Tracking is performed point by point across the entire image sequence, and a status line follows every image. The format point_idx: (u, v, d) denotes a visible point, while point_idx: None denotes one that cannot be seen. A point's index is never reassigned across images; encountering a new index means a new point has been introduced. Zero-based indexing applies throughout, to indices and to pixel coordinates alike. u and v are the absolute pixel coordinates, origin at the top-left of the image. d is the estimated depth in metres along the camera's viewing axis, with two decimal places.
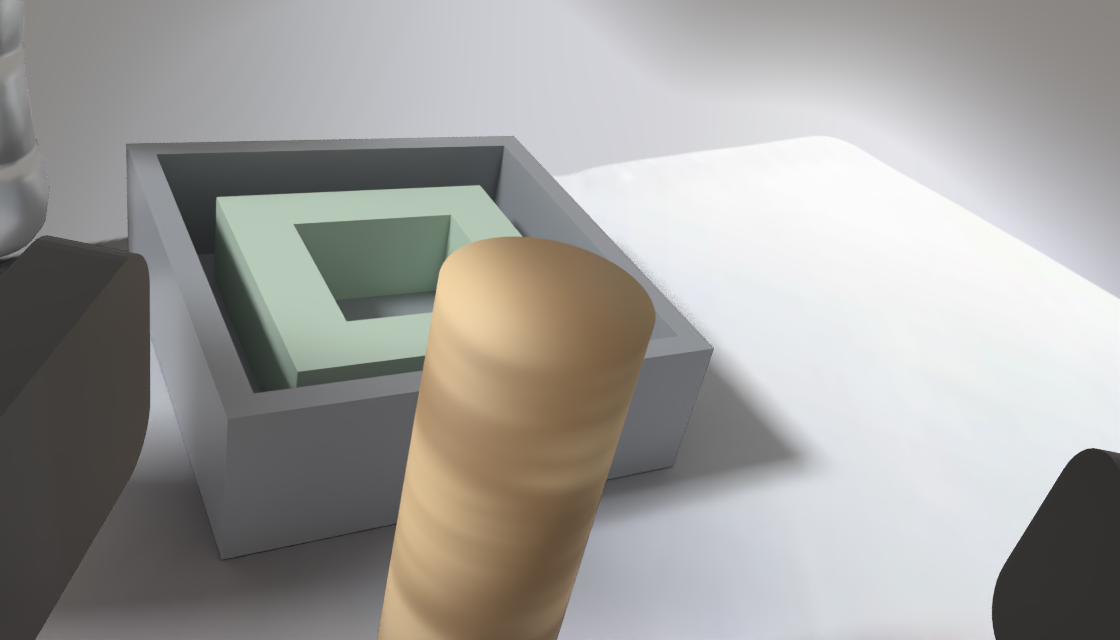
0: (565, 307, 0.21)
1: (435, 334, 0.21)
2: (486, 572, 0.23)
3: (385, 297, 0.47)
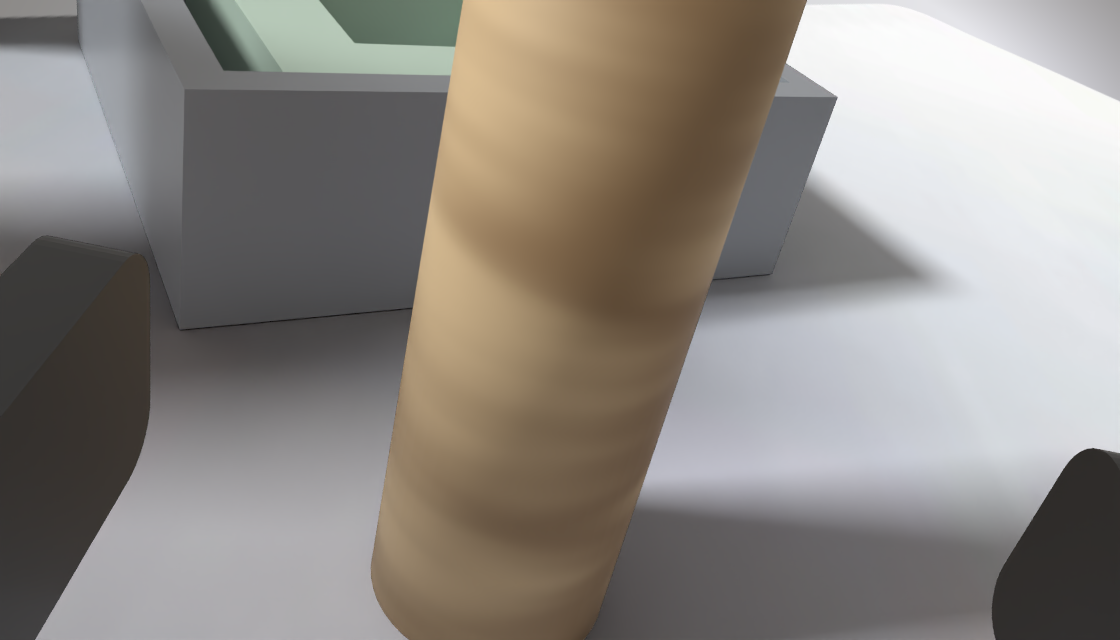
0: None
1: None
2: (606, 139, 0.13)
3: None
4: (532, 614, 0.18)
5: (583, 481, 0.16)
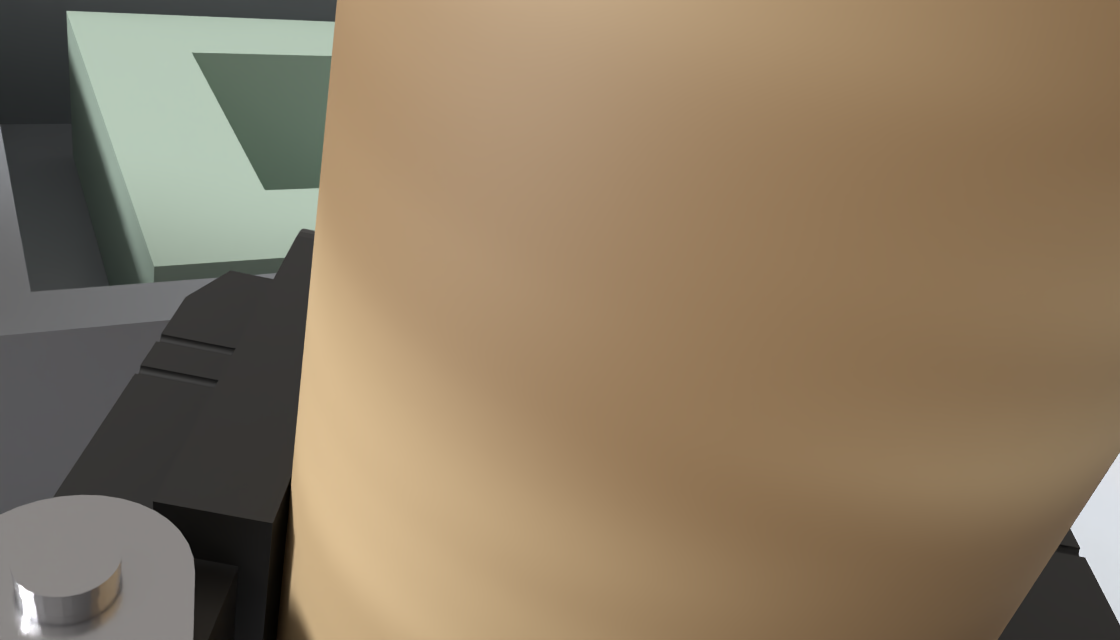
0: None
1: None
2: None
3: None
4: None
5: None
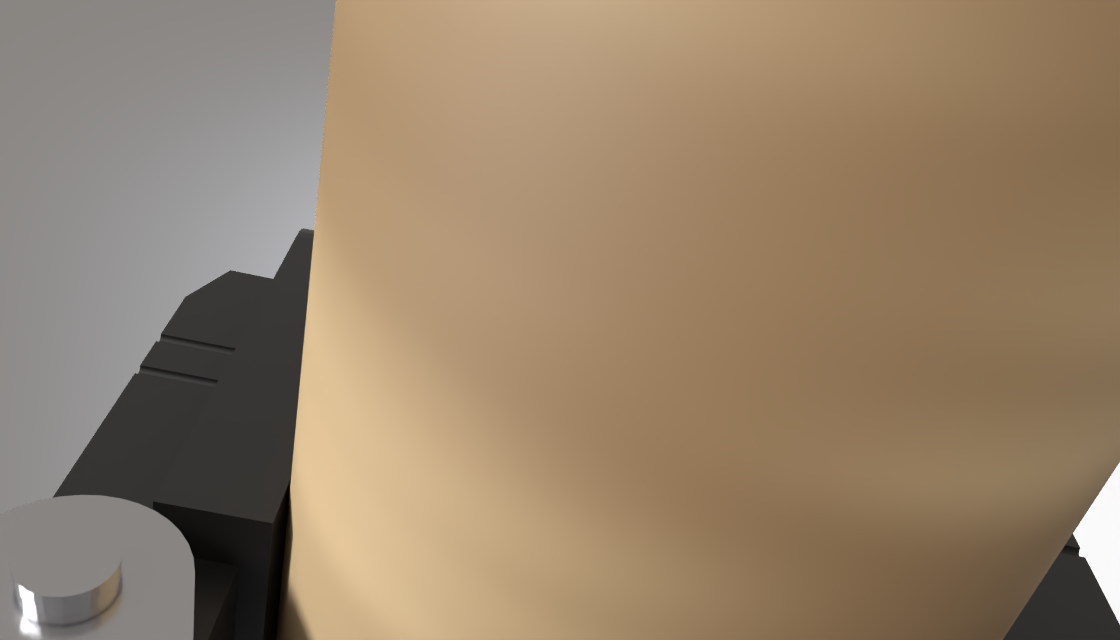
0: None
1: None
2: None
3: None
4: None
5: None
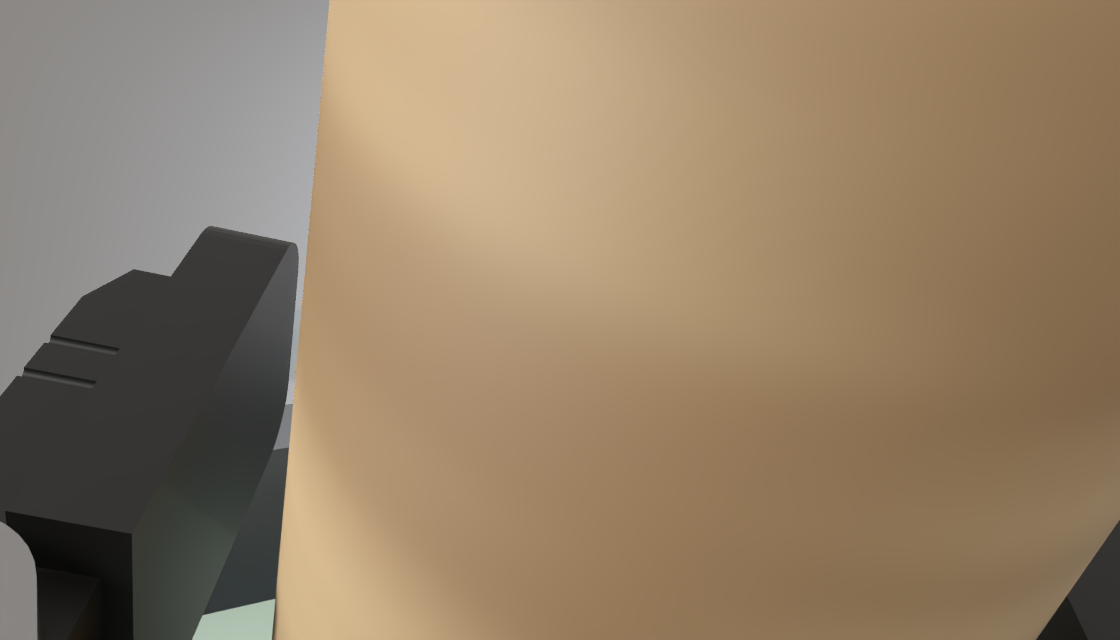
0: None
1: None
2: None
3: None
4: None
5: None
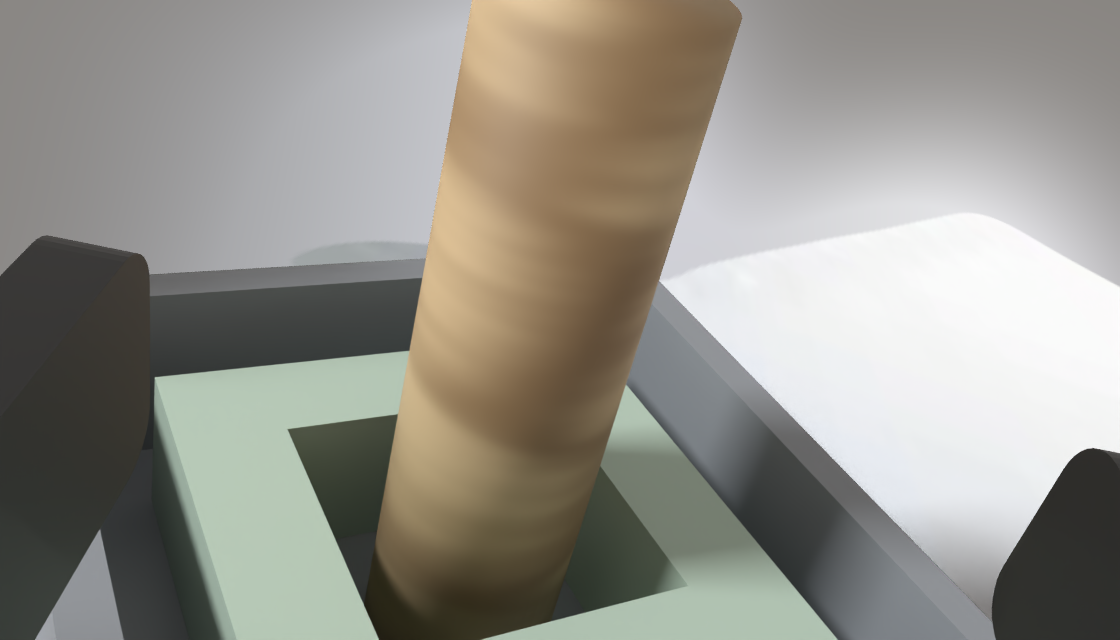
0: None
1: (475, 23, 0.17)
2: (529, 338, 0.19)
3: None
4: None
5: (520, 565, 0.22)
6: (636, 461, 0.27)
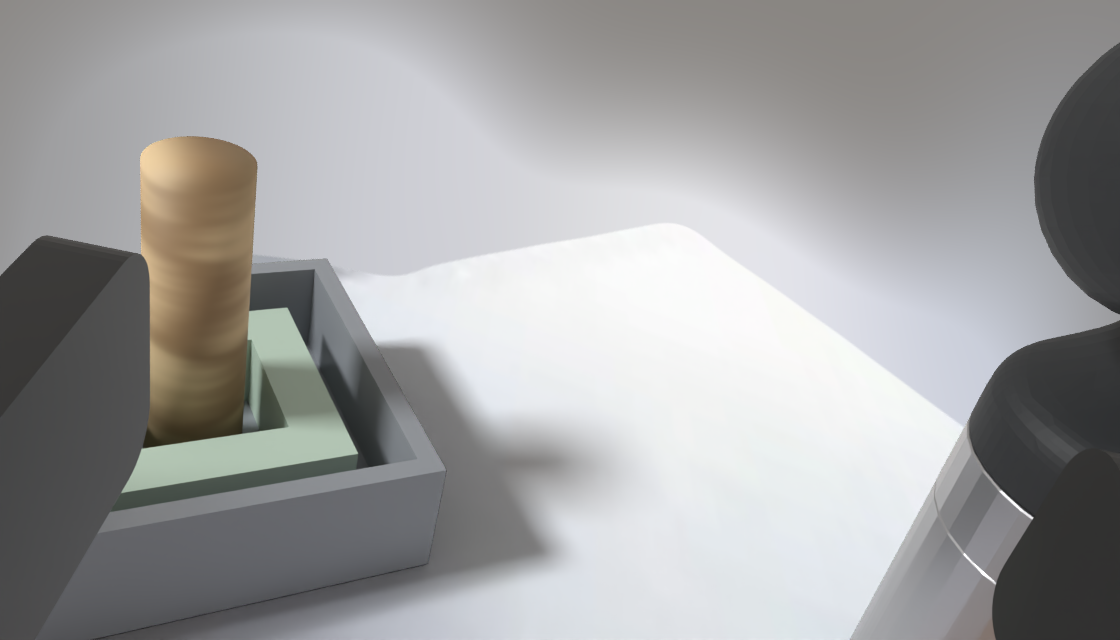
0: (205, 166, 0.42)
1: None
2: (177, 308, 0.44)
3: None
4: None
5: (199, 414, 0.47)
6: (288, 372, 0.52)
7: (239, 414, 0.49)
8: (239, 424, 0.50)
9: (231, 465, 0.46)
